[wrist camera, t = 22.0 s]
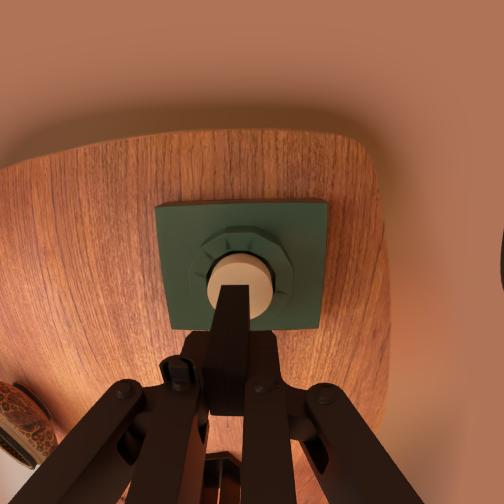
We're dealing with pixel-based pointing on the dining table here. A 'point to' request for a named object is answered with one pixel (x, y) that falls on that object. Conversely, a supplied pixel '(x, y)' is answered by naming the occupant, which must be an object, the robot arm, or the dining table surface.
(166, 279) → the green button base
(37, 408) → the ceramic bowl
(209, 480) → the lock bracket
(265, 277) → the bell button
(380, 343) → the dining table surface
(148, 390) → the robot arm
